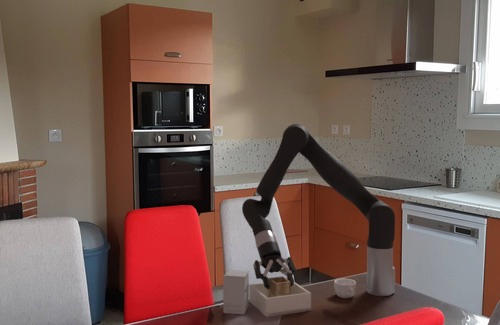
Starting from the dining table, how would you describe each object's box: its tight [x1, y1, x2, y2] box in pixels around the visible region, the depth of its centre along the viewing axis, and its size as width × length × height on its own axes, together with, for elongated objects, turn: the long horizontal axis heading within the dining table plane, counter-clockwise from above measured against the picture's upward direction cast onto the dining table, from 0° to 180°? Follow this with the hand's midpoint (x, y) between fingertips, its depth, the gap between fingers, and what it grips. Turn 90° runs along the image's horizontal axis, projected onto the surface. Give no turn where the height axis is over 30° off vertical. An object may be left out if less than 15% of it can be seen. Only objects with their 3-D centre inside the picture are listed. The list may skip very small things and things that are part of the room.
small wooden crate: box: [268, 276, 291, 298], centre depth 172 cm, size 6×6×8 cm
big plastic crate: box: [249, 281, 312, 318], centre depth 172 cm, size 16×16×6 cm
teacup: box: [333, 278, 357, 299], centre depth 180 cm, size 10×8×5 cm
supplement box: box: [222, 269, 250, 315], centre depth 168 cm, size 7×7×13 cm
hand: (280, 286), depth 171 cm, fingers open, 8 cm apart
